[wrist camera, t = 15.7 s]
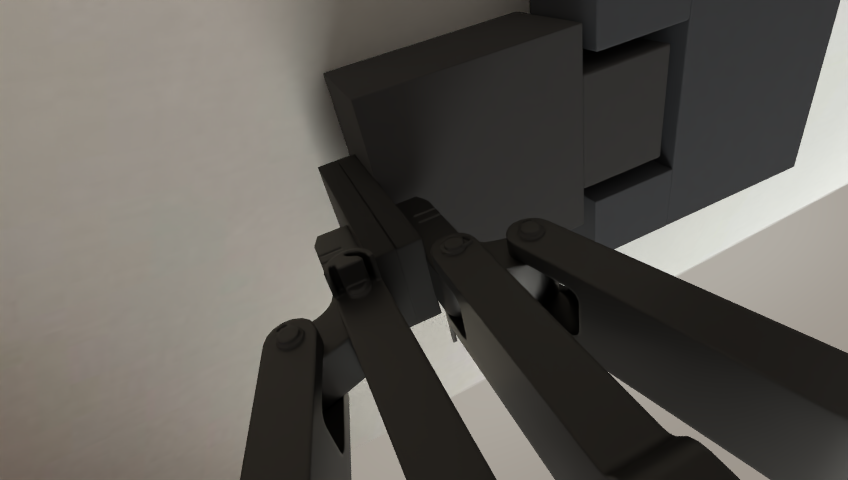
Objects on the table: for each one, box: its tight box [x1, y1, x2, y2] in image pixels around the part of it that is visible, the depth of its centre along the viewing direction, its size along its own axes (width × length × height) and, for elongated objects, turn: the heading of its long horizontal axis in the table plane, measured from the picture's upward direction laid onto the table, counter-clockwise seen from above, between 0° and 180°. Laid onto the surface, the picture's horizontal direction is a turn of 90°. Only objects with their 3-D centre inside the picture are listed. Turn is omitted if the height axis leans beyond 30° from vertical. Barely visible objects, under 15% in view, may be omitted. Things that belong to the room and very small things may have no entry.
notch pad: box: [530, 0, 840, 250], centre depth 20 cm, size 12×12×4 cm
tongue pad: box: [324, 12, 670, 242], centre depth 19 cm, size 12×8×4 cm
